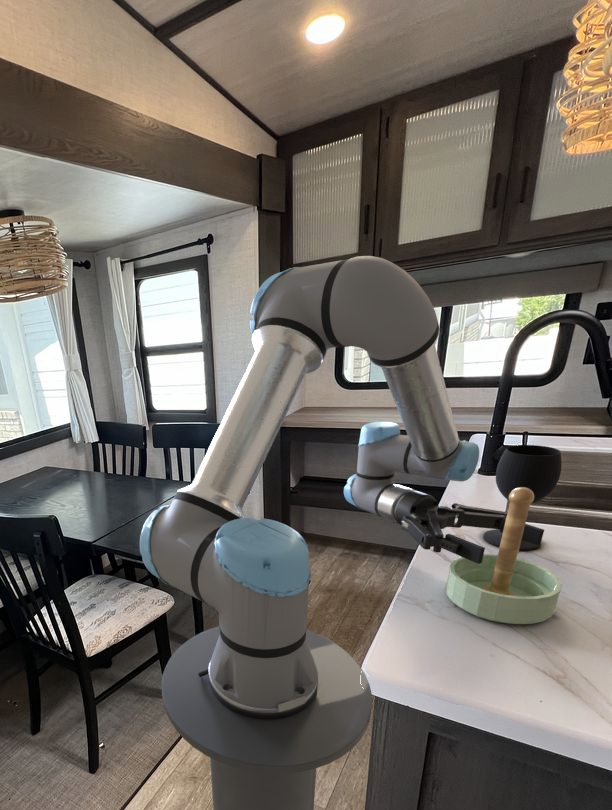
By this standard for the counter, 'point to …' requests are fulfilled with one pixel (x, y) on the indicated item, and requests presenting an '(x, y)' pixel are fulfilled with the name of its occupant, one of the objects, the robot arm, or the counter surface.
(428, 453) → the robot arm
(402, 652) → the counter surface
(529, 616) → the bowl
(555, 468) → the wine glass
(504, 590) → the wooden pestle
